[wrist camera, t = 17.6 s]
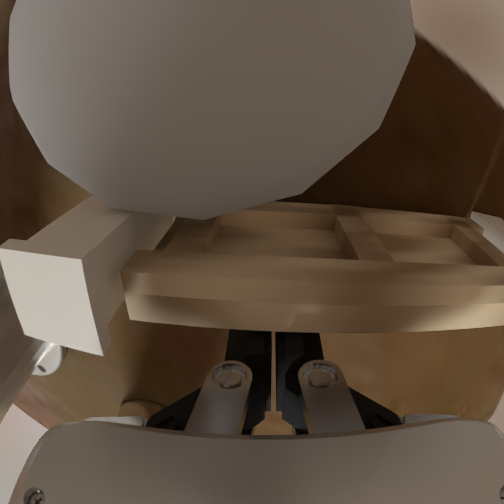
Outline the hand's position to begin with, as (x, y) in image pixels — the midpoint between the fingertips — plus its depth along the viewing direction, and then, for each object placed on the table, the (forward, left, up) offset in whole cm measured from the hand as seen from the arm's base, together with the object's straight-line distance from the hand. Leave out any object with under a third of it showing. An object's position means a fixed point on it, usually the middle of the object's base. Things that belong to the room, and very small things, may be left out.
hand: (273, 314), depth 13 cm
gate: (+3, +3, -4) cm, 6 cm away
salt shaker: (-2, +9, -5) cm, 10 cm away
